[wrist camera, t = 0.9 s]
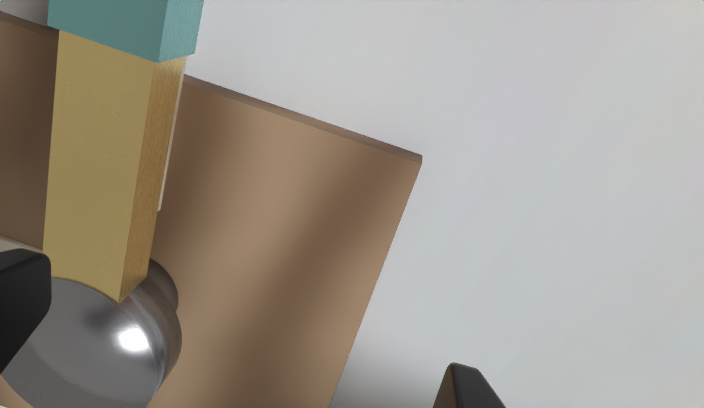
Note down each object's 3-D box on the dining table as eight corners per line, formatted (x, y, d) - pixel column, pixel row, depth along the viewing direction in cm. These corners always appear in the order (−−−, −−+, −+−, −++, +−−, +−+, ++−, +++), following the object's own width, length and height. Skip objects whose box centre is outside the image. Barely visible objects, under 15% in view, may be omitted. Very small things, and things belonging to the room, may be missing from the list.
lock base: (436, 118, 18) (437, 161, 14) (295, 489, 26) (265, 596, 21) (-91, -61, 19) (-263, -77, 14) (-77, 357, 26) (-185, 435, 22)
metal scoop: (169, 407, 21) (140, 452, 19) (25, 357, 21) (-19, 396, 19) (261, -15, 15) (233, -16, 13) (55, -85, 15) (-6, -97, 13)
